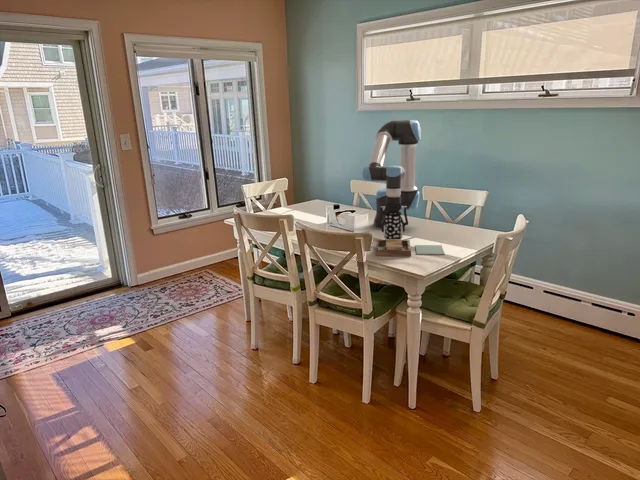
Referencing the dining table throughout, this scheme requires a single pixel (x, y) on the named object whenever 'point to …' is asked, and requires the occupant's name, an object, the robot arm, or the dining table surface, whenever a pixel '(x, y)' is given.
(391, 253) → the rack
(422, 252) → the mat
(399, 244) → the offcut
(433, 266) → the dining table surface
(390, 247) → the offcut
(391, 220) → the spotted tube
